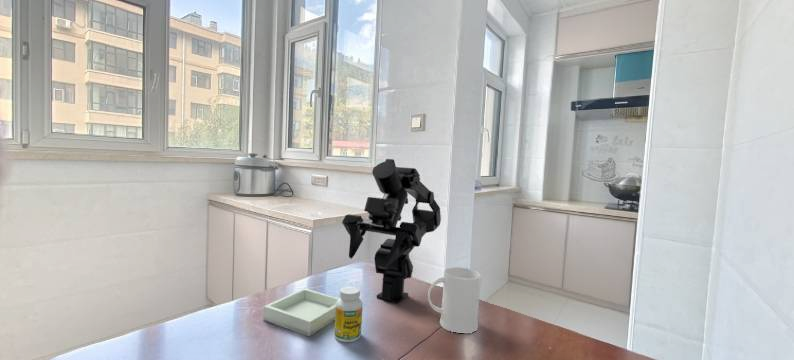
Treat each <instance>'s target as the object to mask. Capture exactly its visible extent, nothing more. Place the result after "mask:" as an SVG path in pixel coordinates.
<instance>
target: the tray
mask: <svg viewBox="0 0 794 360" xmlns="http://www.w3.org/2000/svg"><path fill="white" fill-rule="evenodd" d="M339 298H340V297H336V296H333V295H329V294H326V293H323V292H319V291H315V290H313V289H309V288H306V287H305V288H302V289H299V290H297V291H295V292H293V293H291V294H288V295H286V296H284V297H282V298H279V299H277V300H275V301H273V302H271V303H268V304H265V305H264V306H263V321H265V322H267V323H268V322H269V323H271V324H273V325H276V326H279V327H282V328H284V329H287V330H289V331H293V332H294V333H295V332H296V333H298V334H301V335H303V336H306V337H311V336H313V335H314V334H316V333H317V332H319V331H320V330H322V329H324V328H325V327H326V326H328V325H330V324H331V323H333V322H335V313H336V302H337V300H338V299H339Z"/></svg>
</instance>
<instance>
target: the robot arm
mask: <svg viewBox="0 0 794 360" xmlns="http://www.w3.org/2000/svg"><path fill="white" fill-rule="evenodd" d="M371 172H372V175H373V179H374V180H375V183H376V186H377V187H378V190H379V191H380V192H381V193H382V194H383V197H382V198H381V197H371V196H367V199H366V203H365V206H364V210H363V211H364V212H367V214H368V219H369V220H370V221H371V222H367V221H364V219H363V217H362V216H361V215H358V214H357V215H356V214H352V213H351V214H346V215H345V216H344V218H343V219H342V221H341V223H342V225H343V226H344V228H345V231H346V232H347V234H348V235H349V239H350V240H349V249H348V257H349V259H351V260H352V259H353V258H354V256H355V255H356V253H357V252H358V250H359V248H360V246H361V244H362V243H363V240H364V238H363V237H364V236H365V234H367V232H371V233H377V234H381V235H388V236H394V237H395V239H394V238H387V239H385V241H383V243H381V244H380V247H379V248H378V249H377V250H376V251H375V254H374V265H375V267H374V268H375V273H376V274H380V275H382V286H381V287H382V288H381V292H378V294H376V298H377V299H381V300H385V301H387V302H388V301H389V302H392V303H397V304H399V303H400V302H402V301H403V300H404V299H406V298H407V297H408V296H409V292H408V293H407V292H406V291H404V289H405V280H406V279H410V278H412V275H413V272H414V271H413V270H414V266H413V265H414V264H413V263H412V261H411V259H410V254H411V252H412V251H413V249H414V248H418V247H421V246H420V245H421V242H422V238H423V237H424V236H425V234H427V233H432V232H434V231H436V230H437V229H438V228H439V226H441V225H440V224H441V221H442V215H441V208H440V206H439V204H438V203H437V201H436V200H435V194H434V191H431V190H429V188H427V186H426V185H425V184H423V183H422V182H421V178H420V176H421V175H420V173H419V172H418V170H417V168H413V167H401V166H397V165H396V162H395V159H394V158H386V159H385V161H382V162H380V163H378V164H376V165H375V166H374V167H373V169H372V171H371ZM409 195H410V196H411V197H412V198H414V199H415V204H414V207H413V208H412V210H411V213H412V221H413V222H407V221H402V211H403V208H404V207H405V205H408V204H409V199H408V196H409ZM419 203H423V204H428V205H429V208H431V210H426V209H419V208H418V206H419ZM399 221H400V224H399V226H397V224H398V222H399ZM401 221H402V222H401Z"/></svg>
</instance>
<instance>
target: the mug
mask: <svg viewBox="0 0 794 360" xmlns="http://www.w3.org/2000/svg"><path fill="white" fill-rule="evenodd" d="M443 273H444V274H443V277H439V278H437V279H436V280H434V281H433V282H432V283H431V284H430V285H429V287H428V288H429V289H428V291H427V302H428V304H429V306H430V308H432V310H434V311H435V312H436V313H439V314H440V319H439V325H440V326H441V327H442V328H443V329H444V330H446V331H448V332H450V331H451V332H450V333H453V332H457V333H470V332H473V331H475V330H476V329H477V328H479V325H478V323H479V322H478V317H479V315H478V314H479V304H480V292H481V281H482V278H481V277H482V275H481V273H480V272H478V271H476V270H475V269H470V268H467V267H459V266H458V267H457V266H456V267H447V268H446V269H444V272H443ZM442 283H443V284H442ZM438 284H442V285H443V286H442V287H443V288H442V299H441V300H442V302H441V307H438V306H436V305H434V303H432V300H431V292H432V290H433V289H434V287H436V285H438ZM477 330H478V329H477ZM457 333H456V334H457Z"/></svg>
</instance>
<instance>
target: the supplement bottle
mask: <svg viewBox="0 0 794 360" xmlns="http://www.w3.org/2000/svg"><path fill="white" fill-rule="evenodd" d="M360 296H361V290H360V288H359V287H355V286H343V287H342V288H340V290H339V297H338V298H339V299H338V300H337V302H336V313H335V320H334V338H335V340H337V341H339V342H341V343H354V342H356V341H359V339H360V338H361V335H362V323H363V322H362V319H363V306H364V305H363V300H362V299H361V298H360Z"/></svg>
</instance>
